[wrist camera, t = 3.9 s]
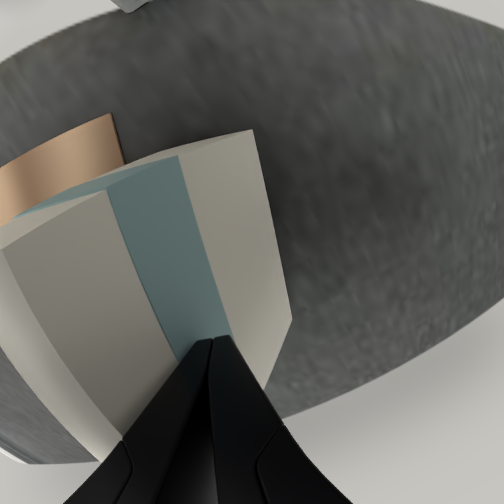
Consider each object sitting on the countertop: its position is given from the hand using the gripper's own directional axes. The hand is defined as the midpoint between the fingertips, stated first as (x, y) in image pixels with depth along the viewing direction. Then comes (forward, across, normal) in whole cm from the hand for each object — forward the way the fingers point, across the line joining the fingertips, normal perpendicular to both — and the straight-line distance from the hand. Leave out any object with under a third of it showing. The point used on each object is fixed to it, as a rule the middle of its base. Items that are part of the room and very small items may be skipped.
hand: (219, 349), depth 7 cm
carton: (+7, 0, 0) cm, 7 cm away
